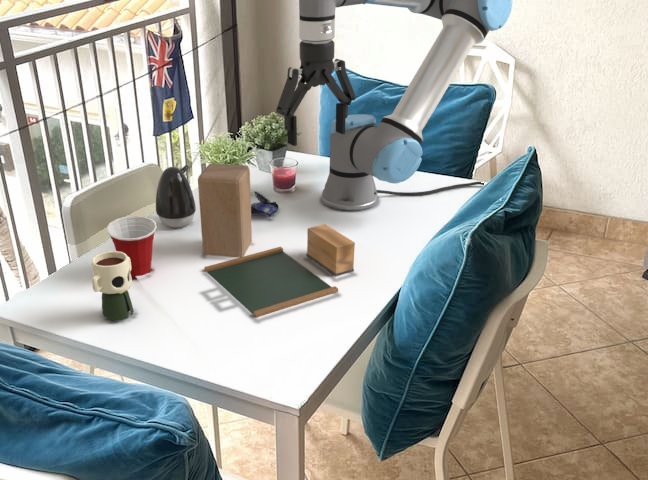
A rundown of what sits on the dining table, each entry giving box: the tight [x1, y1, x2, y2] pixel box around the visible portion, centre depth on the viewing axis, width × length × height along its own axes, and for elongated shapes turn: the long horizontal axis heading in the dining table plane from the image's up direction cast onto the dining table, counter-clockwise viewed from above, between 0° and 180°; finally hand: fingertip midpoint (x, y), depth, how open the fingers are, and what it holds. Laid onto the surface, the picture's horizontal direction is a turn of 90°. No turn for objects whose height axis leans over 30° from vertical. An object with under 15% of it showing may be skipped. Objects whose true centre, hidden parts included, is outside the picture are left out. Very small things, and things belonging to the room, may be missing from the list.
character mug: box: [91, 250, 135, 322], centre depth 140 cm, size 11×7×13 cm, turn 150°
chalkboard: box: [204, 246, 339, 318], centre depth 153 cm, size 20×24×2 cm
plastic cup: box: [106, 215, 158, 280], centre depth 155 cm, size 11×11×12 cm
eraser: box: [306, 223, 356, 278], centre depth 158 cm, size 5×12×8 cm, turn 30°
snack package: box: [251, 191, 279, 220], centre depth 186 cm, size 12×6×12 cm
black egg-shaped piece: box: [155, 164, 197, 229], centre depth 178 cm, size 10×10×15 cm
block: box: [197, 162, 253, 258], centre depth 163 cm, size 10×10×20 cm
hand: (316, 138), depth 161 cm, fingers open, 13 cm apart
